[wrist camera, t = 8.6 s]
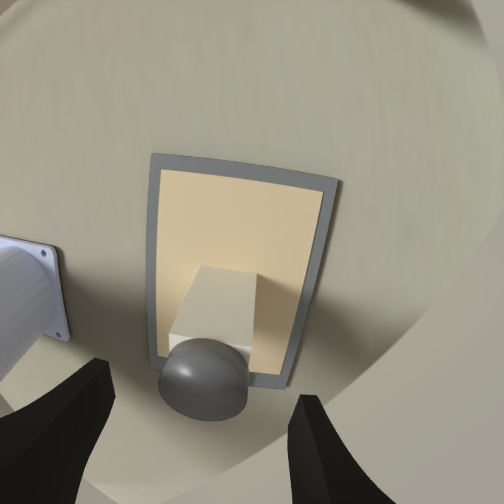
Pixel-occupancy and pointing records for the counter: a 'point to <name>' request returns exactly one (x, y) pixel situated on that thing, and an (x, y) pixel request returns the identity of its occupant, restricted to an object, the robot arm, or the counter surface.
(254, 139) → the counter surface
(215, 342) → the block with domed cap
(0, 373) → the robot arm
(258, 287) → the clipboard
